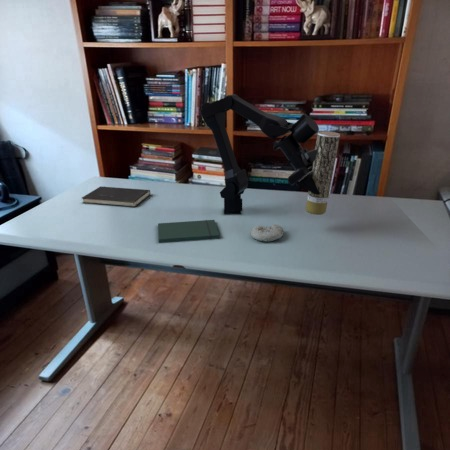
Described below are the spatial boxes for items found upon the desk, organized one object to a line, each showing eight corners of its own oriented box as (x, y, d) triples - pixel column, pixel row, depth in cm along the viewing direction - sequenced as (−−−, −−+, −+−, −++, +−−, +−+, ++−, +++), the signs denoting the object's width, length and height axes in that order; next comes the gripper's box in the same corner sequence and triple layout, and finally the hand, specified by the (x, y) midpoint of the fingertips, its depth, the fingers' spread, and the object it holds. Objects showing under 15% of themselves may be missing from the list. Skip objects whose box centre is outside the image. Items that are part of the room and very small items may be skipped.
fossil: (274, 217, 142) (291, 231, 136) (273, 227, 145) (289, 241, 138) (246, 223, 138) (262, 237, 131) (245, 233, 140) (260, 247, 133)
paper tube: (327, 210, 142) (342, 133, 129) (323, 216, 137) (338, 136, 124) (308, 207, 144) (320, 130, 131) (303, 213, 139) (315, 133, 126)
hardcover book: (134, 207, 165) (134, 201, 163) (82, 203, 169) (81, 197, 168) (150, 194, 178) (150, 189, 176) (101, 191, 183) (100, 186, 181)
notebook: (158, 242, 136) (158, 239, 135) (158, 226, 148) (157, 223, 147) (219, 238, 138) (219, 234, 138) (214, 222, 150) (214, 219, 149)
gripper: (300, 141, 123) (331, 184, 124) (323, 131, 137) (351, 170, 138) (275, 165, 131) (304, 205, 132) (299, 152, 144) (325, 189, 145)
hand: (322, 191), depth 137 cm, fingers closed on paper tube, 6 cm apart
